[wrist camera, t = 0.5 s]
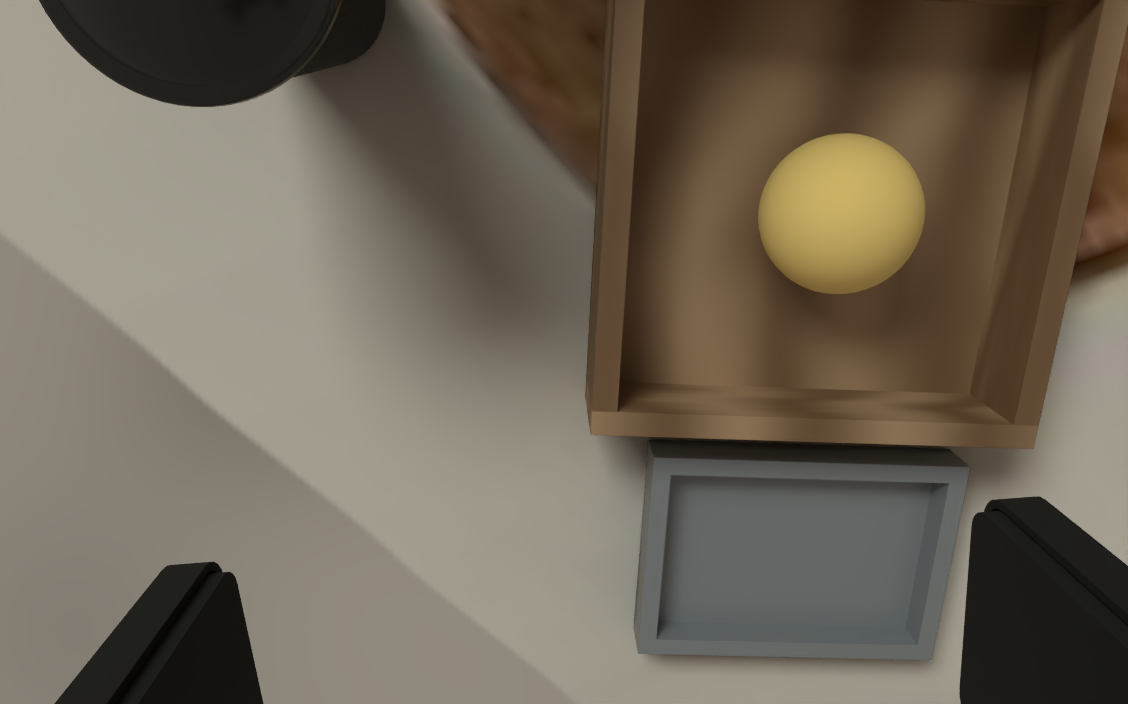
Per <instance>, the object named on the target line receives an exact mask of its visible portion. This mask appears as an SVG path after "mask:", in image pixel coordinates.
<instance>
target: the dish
mask: <svg viewBox="0 0 1128 704" xmlns="http://www.w3.org/2000/svg"><path fill="white" fill-rule="evenodd" d="M969 471H970V467H969V466H968V465H967V464H966V463H965V462H963V461H962V460H961V459H960V458H959V457H958V456H957V455H955V454H954V453H953V452H952V451H951V450H950V449H929V448H897V447H865V446H833V445H801V444H770V443H738V442H706V441H674V440H648V452H647V465H646V478H645V491H644V503H643V516H642V529H641V541H640V554H639V567H638V580H637V592H636V605H635V618H634V633H635V639H636V644H637V650H638V654H672V655H717V656H761V657H806V658H851V659H896V660H932V655H933V650H934V645H935V640H936V635H937V631H938V626H939V621H940V616H941V611H942V606H943V601H944V596H945V591H946V586H947V581H948V576H949V571H950V566H951V561H952V556H953V551H954V546H955V541H956V536H957V531H958V526H959V521H960V516H961V511H962V506H963V501H964V496H965V491H966V486H967V481H968V476H969Z"/></svg>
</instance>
